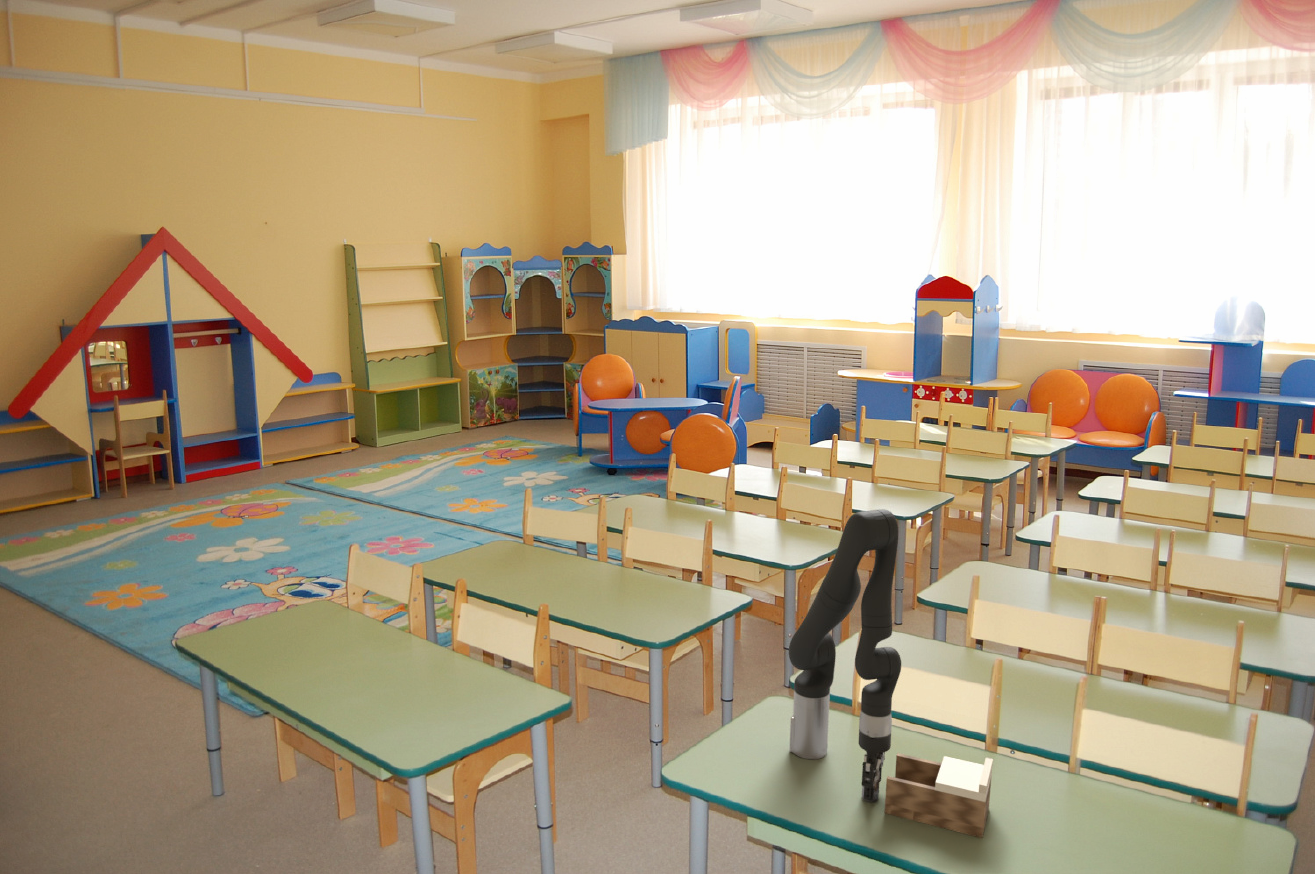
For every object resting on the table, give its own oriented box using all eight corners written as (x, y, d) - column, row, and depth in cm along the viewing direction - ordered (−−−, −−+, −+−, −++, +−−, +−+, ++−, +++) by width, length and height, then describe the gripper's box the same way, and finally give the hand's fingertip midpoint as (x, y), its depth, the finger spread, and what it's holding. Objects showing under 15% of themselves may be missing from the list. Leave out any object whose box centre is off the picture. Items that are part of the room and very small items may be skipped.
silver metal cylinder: (859, 800, 230) (861, 773, 229) (863, 791, 234) (865, 765, 232) (876, 804, 229) (878, 777, 227) (880, 795, 232) (881, 769, 231)
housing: (884, 813, 225) (886, 778, 223) (895, 786, 236) (897, 753, 234) (982, 837, 216) (985, 802, 214) (988, 808, 227) (991, 774, 225)
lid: (934, 790, 219) (936, 774, 218) (943, 763, 230) (944, 748, 229) (985, 802, 214) (986, 786, 213) (991, 774, 225) (993, 759, 224)
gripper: (866, 711, 235) (863, 772, 239) (852, 738, 223) (850, 801, 226) (897, 717, 232) (894, 778, 235) (885, 745, 220) (882, 809, 223)
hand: (872, 789), depth 231 cm, fingers open, 8 cm apart
